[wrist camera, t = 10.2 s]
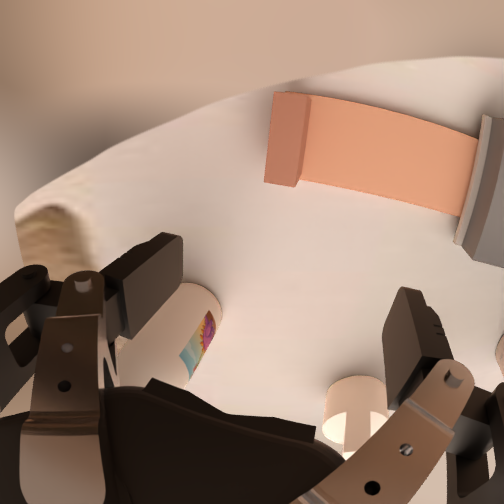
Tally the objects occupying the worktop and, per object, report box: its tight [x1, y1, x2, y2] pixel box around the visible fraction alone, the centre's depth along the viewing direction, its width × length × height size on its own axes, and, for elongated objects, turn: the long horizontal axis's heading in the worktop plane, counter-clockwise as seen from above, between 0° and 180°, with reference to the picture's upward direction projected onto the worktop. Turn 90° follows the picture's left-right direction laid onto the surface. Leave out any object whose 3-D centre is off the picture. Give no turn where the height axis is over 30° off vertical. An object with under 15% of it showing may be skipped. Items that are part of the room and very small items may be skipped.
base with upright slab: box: [322, 375, 389, 460], centre depth 33 cm, size 9×9×12 cm
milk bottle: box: [118, 283, 222, 389], centre depth 29 cm, size 8×8×20 cm
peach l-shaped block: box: [264, 91, 479, 217], centre depth 22 cm, size 20×8×6 cm, turn 84°
